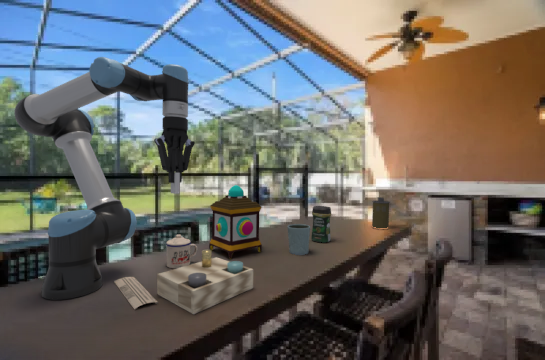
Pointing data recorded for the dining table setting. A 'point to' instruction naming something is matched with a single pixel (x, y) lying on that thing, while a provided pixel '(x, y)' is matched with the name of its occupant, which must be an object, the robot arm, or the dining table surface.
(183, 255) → the teacup with lid
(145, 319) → the dining table surface
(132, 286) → the newspaper
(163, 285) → the mount
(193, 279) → the grey knob
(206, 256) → the brass post
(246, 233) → the decorative lantern
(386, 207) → the canister
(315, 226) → the coffee jar
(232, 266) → the teal knob
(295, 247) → the blue cup
